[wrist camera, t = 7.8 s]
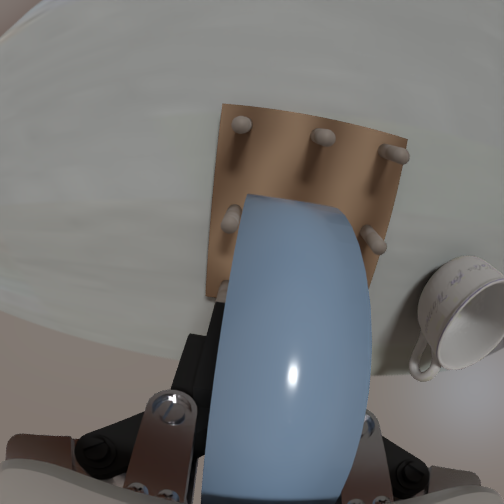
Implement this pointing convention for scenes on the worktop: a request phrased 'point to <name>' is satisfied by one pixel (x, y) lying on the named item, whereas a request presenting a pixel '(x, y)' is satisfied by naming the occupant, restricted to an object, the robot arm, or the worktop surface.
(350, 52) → the worktop surface
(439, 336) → the teacup
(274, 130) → the dish rack
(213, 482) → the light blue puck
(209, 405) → the robot arm
